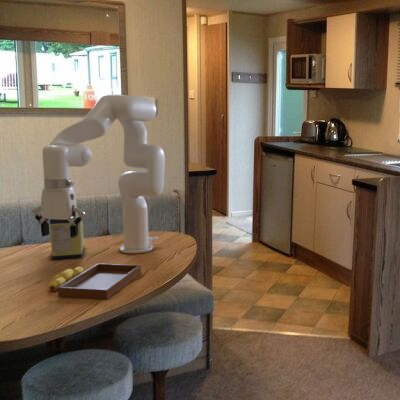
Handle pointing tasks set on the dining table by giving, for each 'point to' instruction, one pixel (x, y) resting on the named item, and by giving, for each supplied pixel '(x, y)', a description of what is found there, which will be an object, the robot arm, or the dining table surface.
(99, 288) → the tray
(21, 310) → the dining table surface
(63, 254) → the protein box
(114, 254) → the dining table surface
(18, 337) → the dining table surface
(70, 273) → the banana
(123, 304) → the dining table surface
